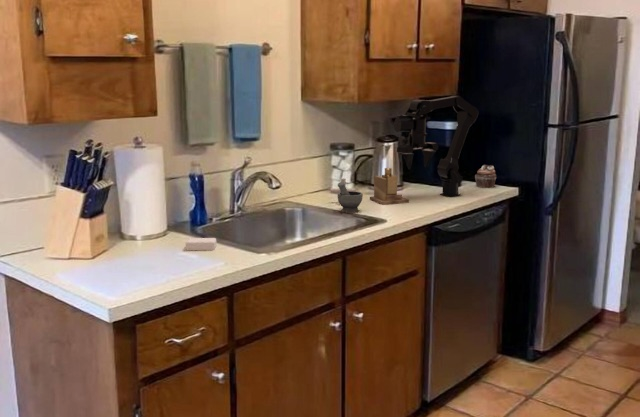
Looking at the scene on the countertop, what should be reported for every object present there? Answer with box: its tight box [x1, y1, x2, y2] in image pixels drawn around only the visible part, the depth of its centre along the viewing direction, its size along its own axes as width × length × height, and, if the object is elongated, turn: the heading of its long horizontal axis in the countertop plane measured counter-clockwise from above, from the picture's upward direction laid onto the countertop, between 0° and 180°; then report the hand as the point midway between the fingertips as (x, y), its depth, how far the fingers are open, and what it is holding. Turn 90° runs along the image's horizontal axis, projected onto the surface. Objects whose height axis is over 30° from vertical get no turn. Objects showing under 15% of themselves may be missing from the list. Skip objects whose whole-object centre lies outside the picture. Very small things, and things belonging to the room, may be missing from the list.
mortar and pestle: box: [337, 181, 364, 213], centre depth 258 cm, size 11×9×12 cm
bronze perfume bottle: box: [381, 167, 398, 196], centre depth 276 cm, size 4×6×12 cm
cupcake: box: [474, 164, 497, 189], centre depth 307 cm, size 10×10×10 cm
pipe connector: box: [330, 177, 357, 194], centre depth 274 cm, size 10×10×10 cm
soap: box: [185, 237, 218, 251], centre depth 209 cm, size 9×6×3 cm, turn 91°
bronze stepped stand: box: [369, 175, 410, 206], centre depth 276 cm, size 12×12×10 cm
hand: (417, 168), depth 278 cm, fingers open, 9 cm apart
